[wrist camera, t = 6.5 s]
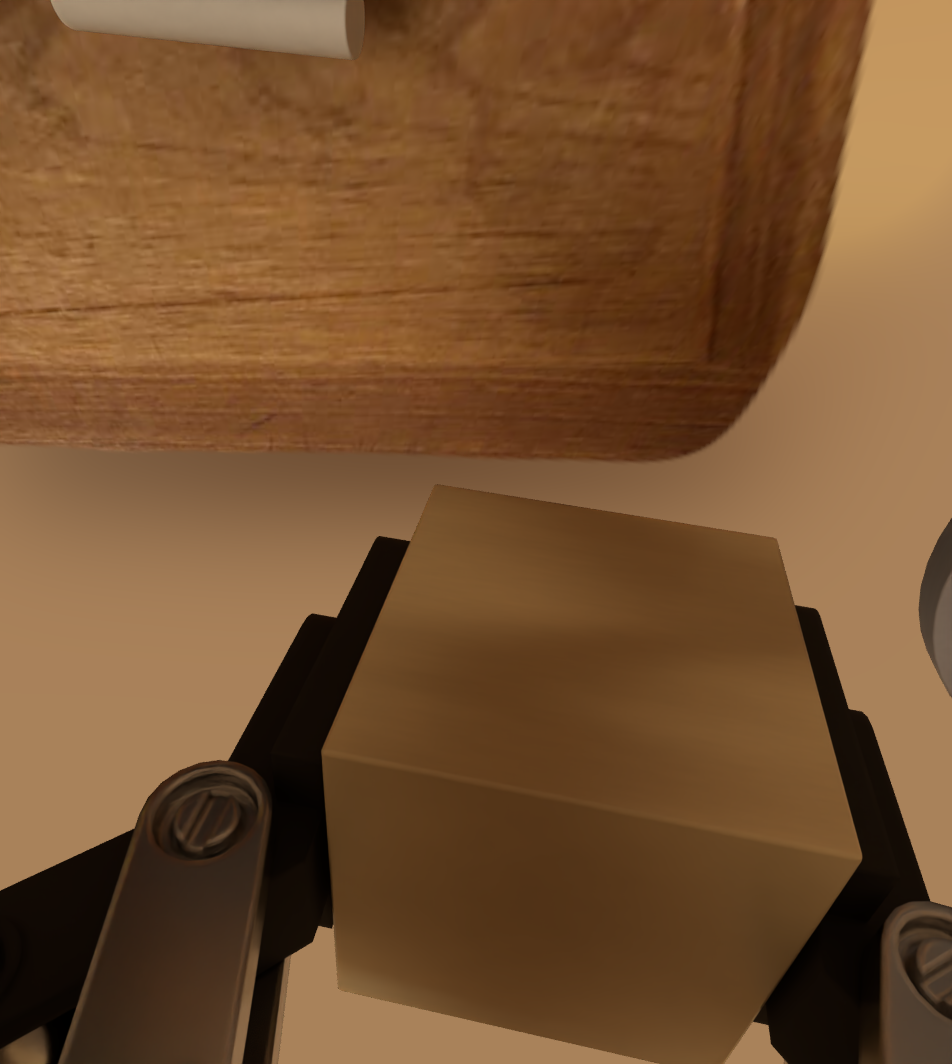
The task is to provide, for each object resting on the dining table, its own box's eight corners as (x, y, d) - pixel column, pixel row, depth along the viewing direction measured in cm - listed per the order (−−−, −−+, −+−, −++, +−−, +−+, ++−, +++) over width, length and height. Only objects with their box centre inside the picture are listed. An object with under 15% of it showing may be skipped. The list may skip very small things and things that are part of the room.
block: (777, 536, 10) (867, 858, 6) (691, 759, 12) (717, 1079, 9) (434, 482, 10) (318, 752, 6) (423, 708, 13) (336, 991, 9)
